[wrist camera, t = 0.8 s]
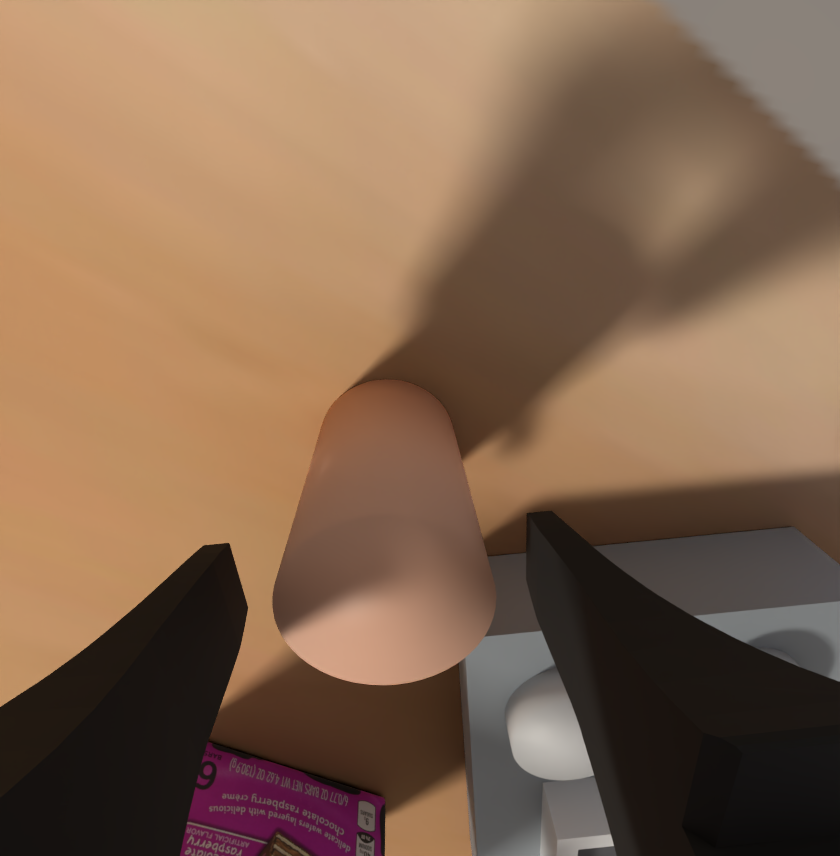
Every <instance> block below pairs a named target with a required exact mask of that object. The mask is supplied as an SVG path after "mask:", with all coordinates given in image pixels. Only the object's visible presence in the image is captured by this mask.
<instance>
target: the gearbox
mask: <svg viewBox="0 0 840 856" xmlns="http://www.w3.org/2000/svg"><path fill="white" fill-rule="evenodd" d="M593 547H594V548H595V549H596V550H598V551H599V552H600V553H601V554H603V555H604V556H605V557H606V558H608V559H609V560H610V561H611V562H612V563H614V564H615V565H616V566H618V567H619V568H620V569H622V570H623V571H624V572H626V573H627V574H629V575H630V576H631V577H633V578H634V579H636V580H637V581H638V582H640V583H641V584H643V585H644V586H645V587H647V588H648V589H650V590H651V591H653V592H654V593H656V594H657V595H659V596H661V597H662V598H664V599H666V600H667V601H669V602H670V603H672V604H674V605H675V606H677V607H679V608H680V609H682V610H684V611H685V612H687V613H689V614H690V615H692V616H694V617H696V618H698V619H699V620H701V621H703V622H705V623H707V624H709V625H711V626H713V627H715V628H716V629H718V630H720V631H722V632H724V633H726V634H728V635H730V636H732V637H734V638H736V639H738V640H740V641H742V642H744V643H747V644H749V645H751V646H753V647H755V648H757V649H759V650H762V651H764V652H766V653H769V654H771V655H773V656H776V657H778V658H780V659H782V660H785V661H787V662H789V663H792V664H794V665H797V666H799V667H801V668H804V669H807V670H810V671H812V672H815V673H818V674H820V675H823V676H826V677H828V678H831V679H834V680H836V681H839V682H840V564H838V563H837V562H836V561H835V560H834V559H832V558H831V557H830V556H829V555H827V554H826V553H825V552H824V551H823V550H821V549H820V548H819V547H818V546H817V545H815V544H814V543H813V542H812V541H811V540H809V539H808V538H807V537H806V536H805V535H803V534H802V533H801V532H800V531H798V530H797V529H796V528H795V527H785V528H775V529H765V530H754V531H744V532H734V533H724V534H713V535H703V536H693V537H683V538H672V539H662V540H652V541H642V542H631V543H621V544H611V545H601V546H593ZM488 560H489V564H490V568H491V572H492V576H493V579H494V583H495V589H496V608H495V613H494V617H493V620H492V622H491V625H490V627H489V629H488V631H487V633H486V635H485V636H484V638H483V639H482V641H481V642H480V643H479V644H478V646H477V647H476V648H475V649H474V650H473V651H472V652H471V653H470V654H469V655H468V656H467V657H465V658H464V659H463V660H461V661H460V662H459V677H460V692H461V707H462V722H463V737H464V752H465V767H466V782H467V797H468V812H469V826H470V841H471V849H472V856H617V855H616V851H615V848H614V844H613V840H612V837H611V833H610V829H609V826H608V822H607V818H606V815H605V811H604V808H603V804H602V801H601V797H600V794H599V790H598V787H597V783H596V780H595V777H594V773H593V770H592V766H591V763H590V760H589V756H588V753H587V750H586V746H585V743H584V740H583V737H582V733H581V730H580V727H579V723H578V721H577V718H576V715H575V712H574V710H573V707H572V704H571V702H570V699H569V697H568V694H567V692H566V689H565V687H564V684H563V682H562V680H561V677H560V675H559V672H558V670H557V667H556V665H555V663H554V660H553V658H552V655H551V653H550V650H549V648H548V645H547V643H546V640H545V638H544V635H543V633H542V631H541V628H540V626H539V623H538V620H537V618H536V615H535V611H534V607H533V604H532V600H531V597H530V593H529V589H528V585H527V581H526V553H519V554H508V555H498V556H488Z"/></svg>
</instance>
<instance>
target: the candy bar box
mask: <svg viewBox="0 0 840 856" xmlns="http://www.w3.org/2000/svg"><path fill="white" fill-rule="evenodd" d="M180 856H385V798H383V797H380V796H377V795H374V794H371V793H368V792H364V791H361V790H358V789H354V788H351V787H348V786H345V785H342V784H339V783H336V782H333V781H330V780H327V779H324V778H321V777H317V776H314V775H311V774H308V773H304V772H301V771H298V770H295V769H292V768H289V767H285V766H282V765H279V764H276V763H273V762H269V761H266V760H263V759H260V758H257V757H254V756H251V755H248V754H245V753H241V752H238V751H235V750H232V749H229V748H226V747H223V746H220V745H217V744H214V743H210V742H208V743H207V746H206V750H205V753H204V756H203V760H202V763H201V767H200V771H199V775H198V779H197V783H196V787H195V791H194V796H193V800H192V804H191V808H190V812H189V817H188V821H187V826H186V830H185V835H184V839H183V844H182V849H181V853H180Z"/></svg>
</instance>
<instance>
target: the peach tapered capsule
mask: <svg viewBox="0 0 840 856" xmlns="http://www.w3.org/2000/svg"><path fill="white" fill-rule="evenodd" d="M495 608H496V589H495V583H494V579H493V576H492V572H491V568H490V564H489V560H488V557H487V553H486V549H485V545H484V542H483V538H482V534H481V530H480V527H479V523H478V519H477V515H476V511H475V508H474V504H473V500H472V496H471V493H470V489H469V485H468V481H467V477H466V474H465V470H464V466H463V462H462V459H461V455H460V451H459V447H458V443H457V440H456V436H455V432H454V428H453V425H452V421H451V419H450V417H449V414H448V413H447V411H446V409H445V408H444V406H443V405H442V404H441V403H440V402H439V400H438V399H437V398H435V397H434V396H433V395H432V394H431V393H429V392H428V391H426V390H425V389H423V388H421V387H419V386H417V385H415V384H412V383H409V382H405V381H401V380H393V379H380V380H374V381H369V382H366V383H362V384H360V385H358V386H355V387H353V388H352V389H350V390H348V391H347V392H345V393H344V394H343V395H341V396H340V397H339V398H338V399H337V400H336V401H335V402H334V403H333V405H332V406H331V407H330V409H329V410H328V412H327V414H326V416H325V418H324V421H323V424H322V427H321V430H320V434H319V437H318V440H317V444H316V447H315V450H314V454H313V457H312V460H311V464H310V467H309V471H308V474H307V477H306V481H305V484H304V487H303V491H302V494H301V497H300V501H299V504H298V507H297V511H296V514H295V518H294V521H293V524H292V528H291V531H290V534H289V538H288V541H287V544H286V548H285V551H284V555H283V558H282V561H281V565H280V568H279V571H278V575H277V578H276V581H275V585H274V591H273V612H274V618H275V621H276V624H277V627H278V629H279V631H280V633H281V635H282V637H283V638H284V640H285V641H286V643H287V644H288V645H289V647H290V648H291V649H292V650H293V651H294V652H295V653H296V654H297V655H298V656H299V657H300V658H302V659H303V660H304V661H306V662H307V663H308V664H309V665H311V666H313V667H315V668H316V669H318V670H320V671H322V672H324V673H326V674H328V675H331V676H333V677H336V678H339V679H342V680H346V681H350V682H354V683H360V684H368V685H397V684H404V683H410V682H414V681H418V680H423V679H425V678H428V677H431V676H434V675H437V674H439V673H441V672H443V671H445V670H447V669H449V668H451V667H452V666H454V665H456V664H457V663H459V662H460V661H461V660H463V659H464V658H465V657H467V656H468V655H469V654H470V653H471V652H472V651H473V650H474V649H475V648H476V647H477V646H478V644H479V643H480V642H481V641H482V639H483V638H484V636H485V635H486V633H487V631H488V629H489V627H490V625H491V622H492V620H493V617H494V613H495Z"/></svg>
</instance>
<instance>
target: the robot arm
mask: <svg viewBox="0 0 840 856" xmlns="http://www.w3.org/2000/svg"><path fill="white" fill-rule="evenodd" d="M526 581H527V585H528V589H529V593H530V597H531V600H532V604H533V607H534V611H535V615H536V618H537V620H538V623H539V626H540V628H541V631H542V633H543V635H544V638H545V640H546V643H547V645H548V648H549V650H550V653H551V655H552V658H553V660H554V663H555V665H556V667H557V670H558V672H559V675H560V677H561V680H562V682H563V684H564V687H565V689H566V692H567V694H568V697H569V699H570V702H571V704H572V707H573V710H574V712H575V715H576V718H577V721H578V723H579V727H580V730H581V733H582V737H583V740H584V743H585V746H586V750H587V753H588V756H589V760H590V763H591V766H592V770H593V773H594V777H595V780H596V783H597V787H598V790H599V794H600V797H601V801H602V804H603V808H604V811H605V815H606V818H607V822H608V826H609V829H610V833H611V837H612V840H613V844H614V848H615V851H616V855H617V856H840V682H839V681H836V680H834V679H831V678H828V677H826V676H823V675H820V674H818V673H815V672H812V671H810V670H807V669H804V668H801V667H799V666H797V665H794V664H792V663H789V662H787V661H785V660H782V659H780V658H778V657H776V656H773V655H771V654H769V653H766V652H764V651H762V650H759V649H757V648H755V647H753V646H751V645H749V644H747V643H744V642H742V641H740V640H738V639H736V638H734V637H732V636H730V635H728V634H726V633H724V632H722V631H720V630H718V629H716V628H715V627H713V626H711V625H709V624H707V623H705V622H703V621H701V620H699V619H698V618H696V617H694V616H692V615H690V614H689V613H687V612H685V611H684V610H682V609H680V608H679V607H677V606H675V605H674V604H672V603H670V602H669V601H667V600H666V599H664V598H662V597H661V596H659V595H657V594H656V593H654V592H653V591H651V590H650V589H648V588H647V587H645V586H644V585H643V584H641V583H640V582H638V581H637V580H636V579H634V578H633V577H631V576H630V575H629V574H627V573H626V572H624V571H623V570H622V569H620V568H619V567H618V566H616V565H615V564H614V563H612V562H611V561H610V560H609V559H608V558H606V557H605V556H604V555H603V554H601V553H600V552H599V551H598V550H596V549H595V548H594V547H593V546H592V545H590V544H589V543H588V542H587V541H586V540H585V539H583V538H582V537H581V536H580V535H579V534H578V533H576V532H575V531H574V530H573V529H572V528H571V527H570V526H569V525H567V524H566V523H565V522H564V521H563V520H562V519H561V518H559V517H558V516H557V515H556V514H555V513H554V512H552V511H545V512H535V513H527V532H526ZM247 611H248V606H247V602H246V599H245V595H244V592H243V589H242V585H241V582H240V578H239V575H238V572H237V568H236V565H235V561H234V558H233V554H232V551H231V548H230V544H229V543H224V544H214V545H204V546H203V547H201V548H200V549H199V550H198V551H197V552H195V553H194V554H193V555H192V556H191V557H190V558H189V559H188V560H186V561H185V562H184V563H183V564H182V565H181V566H180V567H179V568H178V569H177V570H176V571H175V572H173V573H172V574H171V575H170V576H169V577H168V578H167V579H166V580H165V581H164V582H163V583H162V584H160V585H159V586H158V587H157V588H156V589H155V590H154V591H153V592H152V593H151V594H149V595H148V596H147V597H146V598H145V599H144V600H143V601H142V602H141V603H139V604H138V605H137V606H136V607H135V608H134V609H133V610H131V611H130V612H129V613H128V614H127V615H125V616H124V617H123V618H122V619H121V620H119V621H118V622H117V623H116V624H115V625H114V626H112V627H111V628H110V629H109V630H108V631H106V632H105V633H104V634H103V635H102V636H100V637H99V638H98V639H97V640H95V641H94V642H93V643H92V644H90V645H89V646H88V647H87V648H85V649H84V650H83V651H81V652H80V653H79V654H77V655H76V656H75V657H73V658H72V659H71V660H69V661H68V662H66V663H65V664H64V665H62V666H61V667H60V668H58V669H57V670H55V671H54V672H53V673H51V674H50V675H48V676H47V677H45V678H44V679H43V680H41V681H40V682H38V683H37V684H35V685H33V686H32V687H30V688H29V689H27V690H26V691H24V692H23V693H21V694H20V695H18V696H17V697H15V698H13V699H12V700H10V701H9V702H7V703H6V704H4V705H3V706H1V707H0V856H180V853H181V849H182V844H183V839H184V835H185V830H186V826H187V821H188V817H189V812H190V808H191V804H192V800H193V796H194V791H195V787H196V783H197V779H198V775H199V771H200V767H201V763H202V760H203V756H204V753H205V750H206V746H207V743H208V740H209V737H210V734H211V731H212V729H213V726H214V723H215V720H216V717H217V714H218V711H219V708H220V705H221V703H222V700H223V697H224V694H225V691H226V688H227V685H228V682H229V680H230V677H231V674H232V671H233V668H234V665H235V662H236V659H237V656H238V653H239V650H240V646H241V641H242V637H243V632H244V627H245V622H246V616H247Z"/></svg>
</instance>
